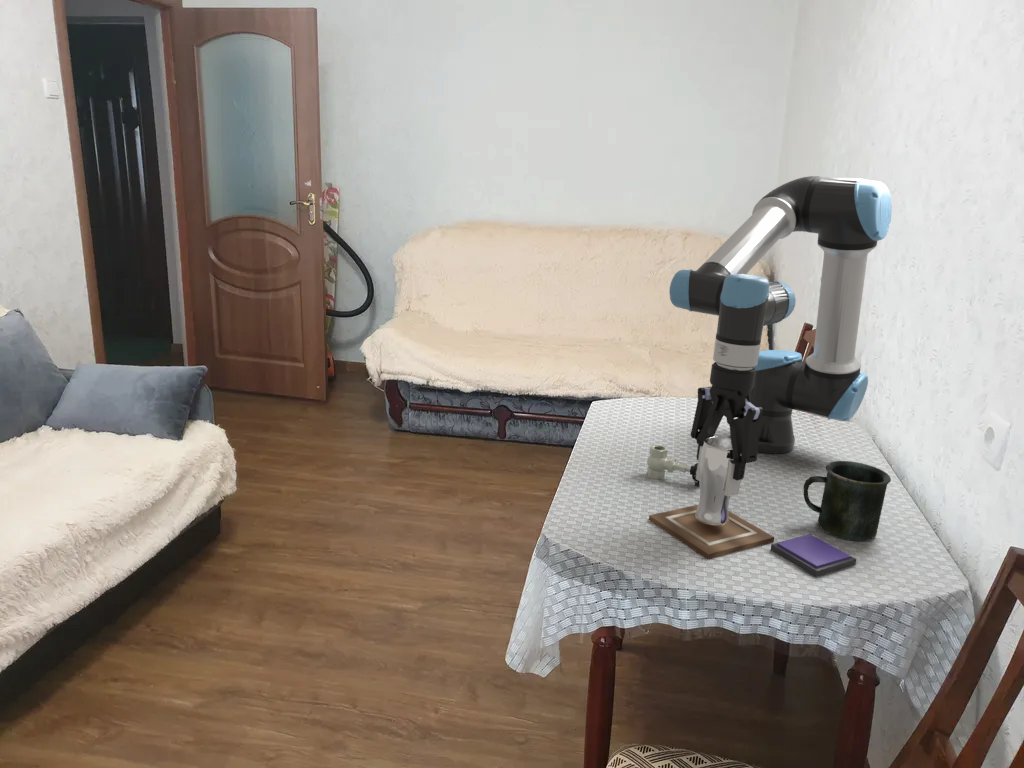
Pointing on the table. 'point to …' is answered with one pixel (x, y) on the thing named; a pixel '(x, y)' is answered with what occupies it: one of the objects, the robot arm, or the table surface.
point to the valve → (666, 464)
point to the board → (710, 532)
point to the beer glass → (714, 481)
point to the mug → (850, 499)
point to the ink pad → (813, 555)
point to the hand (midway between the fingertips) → (716, 486)
